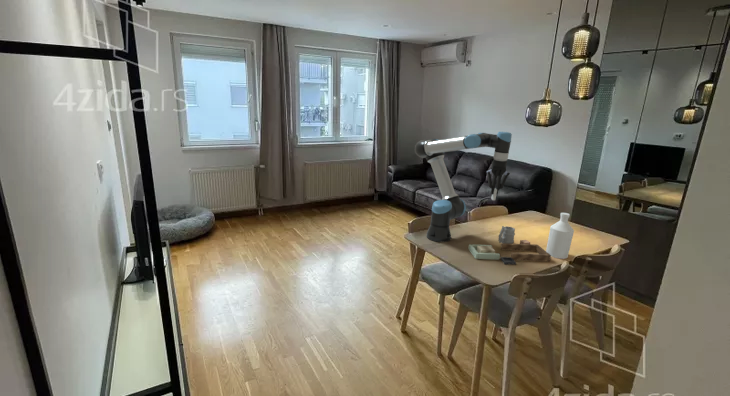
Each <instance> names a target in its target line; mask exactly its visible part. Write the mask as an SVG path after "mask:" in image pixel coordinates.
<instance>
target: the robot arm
mask: <svg viewBox="0 0 730 396" xmlns="http://www.w3.org/2000/svg"><path fill="white" fill-rule="evenodd" d="M512 135H513V134H512V133H511V132H509V131H498V132H497V134H494V133H493V134H492V133H486V132H478V133H471V134H468V135H463V136H456V137H455V136H454V137H450V138H442V139H439V138H438V139H436V138H431V139H421V140H419V141H417V142H416V144H415V145H414V153H415V154H416V156H417V157H419V158H421V159H426V162H427V163H429V164H430V165H431V168H432V169H431V170H432V171H433V172H432V173H434V177H435V180H436V183H437V185H438V186H437V187H438V188H439V192H440V194H441V197H442V198H441V199H437V200H435V201H434V202H433V203H432V205H431V206H432V207H431V217H430V225H429V226H428V229H427V231H426V238H427V239H428V240H430V241H433V242H436V243H437V242H439V243H446V242H449V241H451V239H452V233H451V230H450V224H451V220H454V219H458V218H460V217H462V216H463V215H464V214H465V212H466V211H467V205H466V202H465V201H464V199H461V198H460V195H459V194H457V193H456V191H455V189H454V186H453V182H452V180H451V178H450V175H449V172H448V171H449V170H448V169H447V165H446V163H445V161H444V157H445V153H447V152H456V151H460V150H461V151H462V150H470V149H477V148H492V149H494V153H493V160H492V162H491V163H492V165H491V168H490V169H489V170H486V171H485V172H486V174H487V182H488V183H487V184H488V188H489V189H490V194H491V197H490V199H491V200H492V201H496V199H497V198H496V197H497V195H499V190H500V189H503V188H504V186H505V183H506V181H507V179H508V177H509V175H510V172H509V171H507V165H508V159H509V154H510V153H509V152H510V146H511V143H512Z"/></svg>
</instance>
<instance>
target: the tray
mask: <svg viewBox="0 0 730 396" xmlns="http://www.w3.org/2000/svg"><path fill="white" fill-rule="evenodd" d="M499 260H500V261H501V262H502V263H503V264H504V265H516V264H517V262H516V260H513V259H512V258H511V256H500V258H499Z"/></svg>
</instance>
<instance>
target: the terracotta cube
mask: <svg viewBox="0 0 730 396" xmlns="http://www.w3.org/2000/svg"><path fill="white" fill-rule="evenodd" d="M519 244H531V241H529V240H527V239H520V241H519Z"/></svg>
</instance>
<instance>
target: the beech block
mask: <svg viewBox="0 0 730 396" xmlns="http://www.w3.org/2000/svg"><path fill="white" fill-rule="evenodd" d="M476 251H477V252H478V253H496V250H495V249H494V248H493V246H492V247H491V246H477V250H476Z"/></svg>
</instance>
